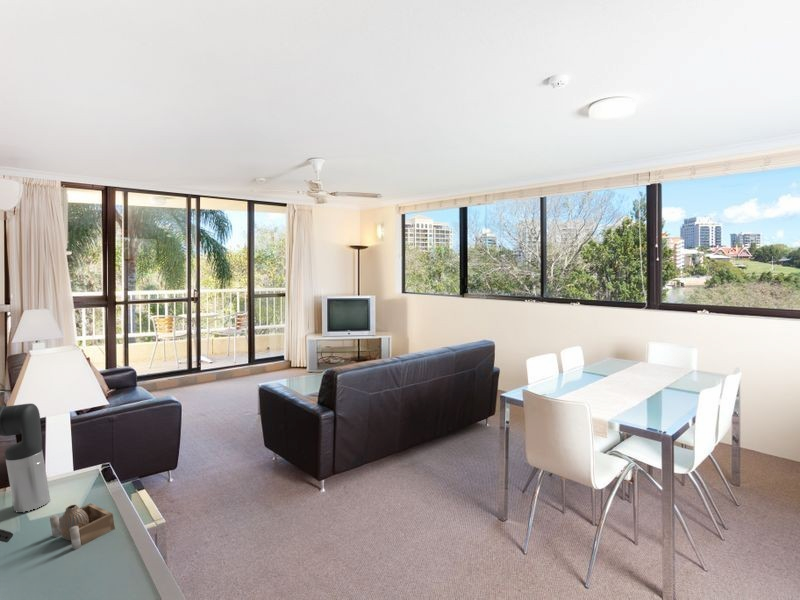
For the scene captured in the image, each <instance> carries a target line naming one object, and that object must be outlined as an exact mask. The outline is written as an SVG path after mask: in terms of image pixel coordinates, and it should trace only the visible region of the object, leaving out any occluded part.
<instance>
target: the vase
mask: <svg viewBox="0 0 800 600" xmlns="http://www.w3.org/2000/svg"><path fill="white" fill-rule="evenodd" d="M80 508H81V507H79V506H78V505H77V504H70V505H69V506H67V507H66V508H65V510H64V513H63V514H62V517H61V516H60V517H61V519H60V522H59V532H60V534H61V535H60V536H61V537H62V538H63V539H64V540H67V541H71V536H70V528H71V527H73V526H79V528H81V527H83V526H85V525H87V524H89V523H90V521H89V518H88V515H87V513H86V512H85V511H84V510H82V509H80Z"/></svg>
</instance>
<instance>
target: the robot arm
mask: <svg viewBox="0 0 800 600" xmlns="http://www.w3.org/2000/svg"><path fill="white" fill-rule="evenodd" d="M18 435H21V441H19V442H17V443H14V444H12V445H10V446H9V447H7V448H6V449H5V451H4V457H5V458H4V459H5V464H6V470H7V475H8V482H9V487H10V493H11V500H12V504H13V511H14V510H15V511H17V512H23V513H26V512H25V511H28V512H31V511H30V510H32V511H34V510H33V509H35V510H37V508H38V509H39V507H40V508H42V507H44V506H45V504H46V503H47V502H48V501H49V500H50V501H51V495H50V487H49V483H48V482H49V481H48V477H47V471H46V465H45V464H46V463H45V457H44V452H43V435H42V425H41V414H40V410H39V408H38V406H37V405H36V404H34V403H24V404H16V405H15V404H13V405H2V404H0V436H1V437H10V436H18ZM50 501H49V502H50ZM49 502H48V503H49ZM48 503H47V504H48ZM47 504H46V505H47ZM43 505H44V506H43ZM41 506H42V507H41ZM15 511H14V512H15ZM17 512H16V513H17ZM13 535H14V533H13V532H12V531H8V530H5V529H2V528H0V542H3V543H8V542H10V541H11V539H12V538H13Z"/></svg>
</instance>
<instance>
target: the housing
mask: <svg viewBox="0 0 800 600" xmlns="http://www.w3.org/2000/svg"><path fill="white" fill-rule="evenodd" d="M79 508H80V509H82V510H84V511H85V512H86V513H87V515H88V518H89V524H87V525H85V526H83V527H81V528H79V526H73V527H71V528H70V536H71V548H72V550H78V549H80V548H82V546H84V545H85V544H88V543H90V542H92V541H94V540H96V539H97V538H99V537H101V536H103V535H105V534H107V533H109V532H111V531H113V530H114V529H116V528H115V527H116V526H115V520H114V514H113V513H112V512H109V511H108V510H105V509H103V508H101V507H99V506H97V505H95V504H93V503H88V504H86V505H83V506H81V507H79ZM62 516H63V515H62ZM62 516H59V514H55V515H52V516H50V517H49V521H50V527H51V534H52V538H59V537H60V536H61V534H60V532H59V522H60V519H61V517H62ZM90 521H91V522H90Z"/></svg>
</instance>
